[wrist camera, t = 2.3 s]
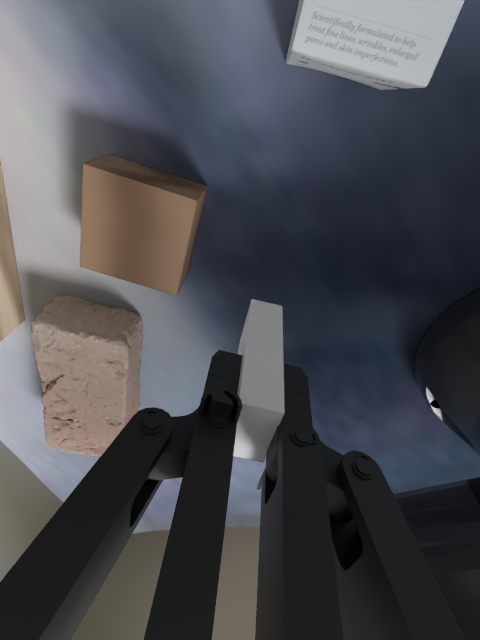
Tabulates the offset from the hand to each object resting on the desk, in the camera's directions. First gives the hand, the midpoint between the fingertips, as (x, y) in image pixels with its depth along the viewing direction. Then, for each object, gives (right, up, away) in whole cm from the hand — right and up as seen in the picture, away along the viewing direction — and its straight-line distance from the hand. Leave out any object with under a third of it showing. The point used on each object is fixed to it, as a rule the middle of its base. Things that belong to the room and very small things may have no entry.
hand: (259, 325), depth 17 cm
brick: (-15, -5, +19) cm, 24 cm away
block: (-8, +8, +9) cm, 14 cm away
